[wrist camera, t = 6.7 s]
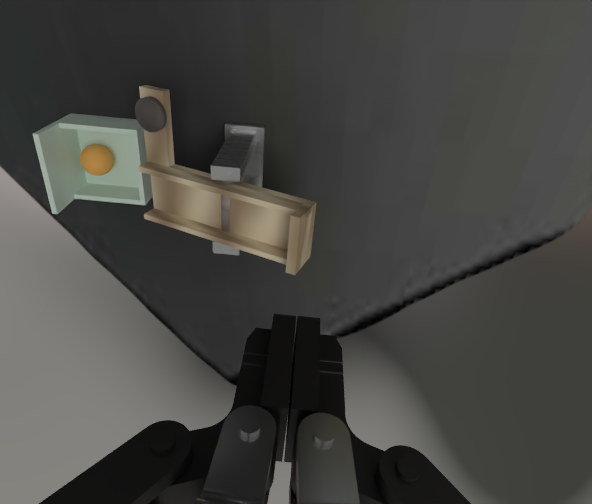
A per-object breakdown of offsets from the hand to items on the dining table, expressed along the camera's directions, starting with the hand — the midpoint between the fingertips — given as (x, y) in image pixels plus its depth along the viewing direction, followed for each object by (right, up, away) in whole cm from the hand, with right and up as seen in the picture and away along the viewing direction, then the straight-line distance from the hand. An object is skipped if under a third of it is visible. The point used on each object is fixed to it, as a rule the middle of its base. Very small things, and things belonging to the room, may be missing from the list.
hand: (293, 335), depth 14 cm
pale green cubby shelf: (-19, +13, +32) cm, 40 cm away
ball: (-21, +12, +31) cm, 39 cm away
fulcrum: (-5, +12, +32) cm, 35 cm away
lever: (-6, +10, +23) cm, 25 cm away
